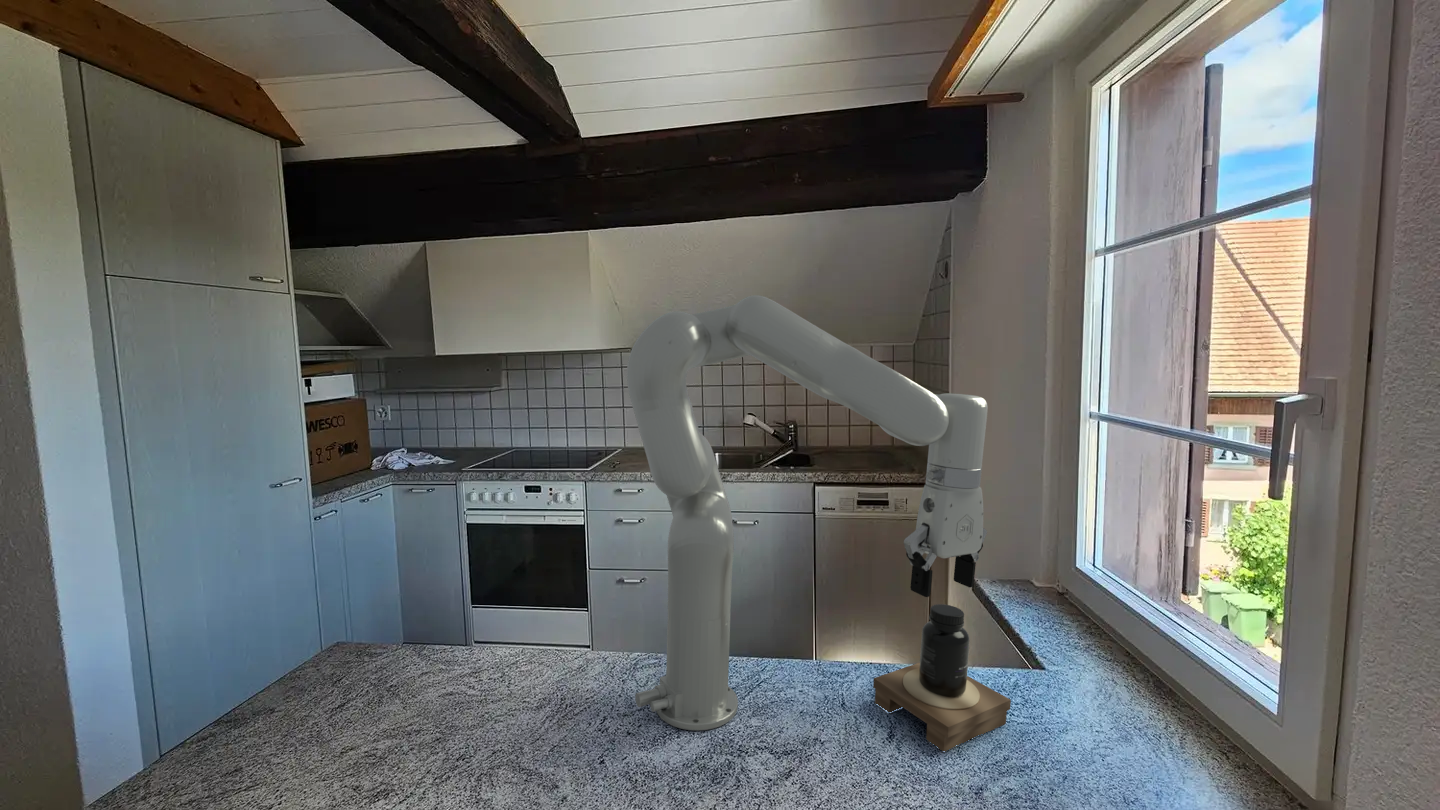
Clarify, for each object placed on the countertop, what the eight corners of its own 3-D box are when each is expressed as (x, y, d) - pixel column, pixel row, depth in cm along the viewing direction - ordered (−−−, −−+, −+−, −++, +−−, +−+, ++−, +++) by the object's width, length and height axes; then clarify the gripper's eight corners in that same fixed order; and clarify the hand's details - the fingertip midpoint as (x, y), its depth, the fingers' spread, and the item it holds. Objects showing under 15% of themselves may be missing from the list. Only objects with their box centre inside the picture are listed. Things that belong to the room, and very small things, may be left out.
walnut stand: (946, 755, 81) (948, 725, 81) (872, 702, 93) (873, 676, 93) (1009, 725, 88) (1011, 697, 88) (932, 680, 100) (934, 655, 100)
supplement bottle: (970, 701, 87) (975, 622, 86) (921, 695, 88) (926, 617, 87) (961, 677, 93) (966, 603, 92) (916, 671, 95) (920, 598, 94)
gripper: (934, 485, 80) (922, 607, 82) (1011, 479, 89) (1000, 589, 90) (892, 474, 87) (882, 588, 88) (968, 469, 96) (958, 572, 97)
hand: (942, 588), depth 89 cm, fingers open, 9 cm apart
